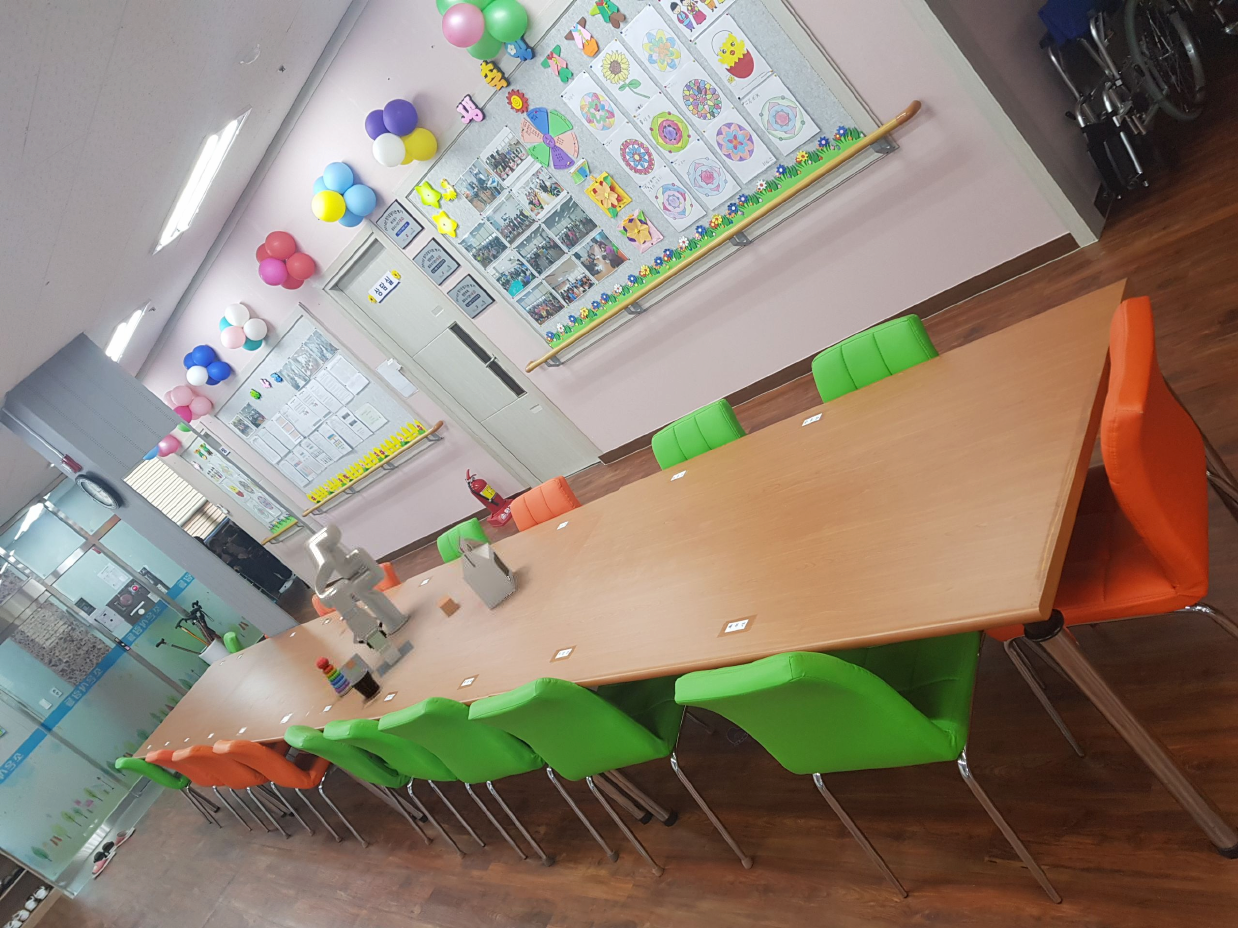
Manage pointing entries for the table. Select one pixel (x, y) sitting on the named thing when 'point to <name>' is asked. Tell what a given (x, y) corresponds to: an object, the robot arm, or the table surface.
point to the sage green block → (376, 640)
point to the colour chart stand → (354, 667)
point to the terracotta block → (447, 605)
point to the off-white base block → (390, 653)
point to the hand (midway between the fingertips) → (379, 642)
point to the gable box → (485, 571)
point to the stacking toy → (334, 677)
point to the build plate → (386, 667)
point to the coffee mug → (365, 684)
